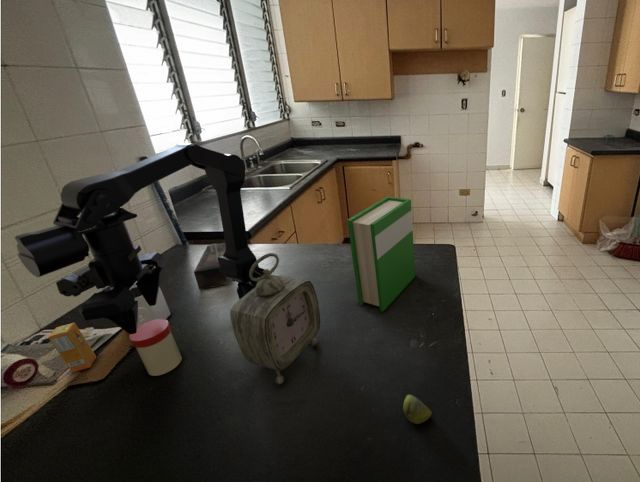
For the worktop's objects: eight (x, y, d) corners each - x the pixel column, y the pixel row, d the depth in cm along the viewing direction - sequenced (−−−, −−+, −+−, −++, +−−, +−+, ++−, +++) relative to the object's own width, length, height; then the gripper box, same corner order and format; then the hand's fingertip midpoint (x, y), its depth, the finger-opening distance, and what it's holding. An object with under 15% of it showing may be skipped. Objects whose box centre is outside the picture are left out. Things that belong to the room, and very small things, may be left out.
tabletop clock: (280, 393, 63) (248, 281, 53) (244, 381, 66) (207, 273, 56) (325, 340, 75) (306, 242, 66) (293, 332, 78) (270, 236, 69)
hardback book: (383, 311, 84) (373, 224, 75) (359, 304, 87) (347, 220, 78) (415, 276, 98) (410, 199, 89) (393, 271, 102) (387, 196, 92)
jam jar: (185, 350, 75) (172, 318, 71) (176, 371, 69) (161, 337, 66) (154, 357, 73) (139, 325, 69) (142, 379, 68) (125, 345, 64)
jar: (125, 338, 79) (104, 296, 74) (129, 319, 85) (110, 280, 81) (170, 323, 84) (153, 282, 79) (171, 306, 90) (155, 268, 85)
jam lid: (175, 322, 72) (173, 315, 71) (164, 342, 66) (161, 336, 65) (140, 329, 70) (137, 323, 69) (126, 351, 64) (122, 344, 64)
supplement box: (77, 362, 73) (55, 326, 69) (97, 357, 74) (77, 321, 70) (69, 374, 70) (46, 336, 66) (90, 368, 71) (69, 331, 67)
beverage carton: (237, 256, 115) (232, 238, 112) (229, 285, 98) (223, 266, 96) (211, 260, 112) (205, 243, 110) (198, 292, 96) (191, 272, 93)
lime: (404, 406, 60) (403, 386, 58) (432, 406, 59) (431, 386, 57) (403, 430, 55) (401, 409, 53) (432, 430, 55) (431, 409, 53)
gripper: (88, 235, 67) (118, 300, 72) (17, 284, 50) (63, 363, 56) (153, 226, 70) (177, 289, 75) (106, 270, 53) (141, 346, 59)
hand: (143, 318), depth 66 cm, fingers open, 9 cm apart
